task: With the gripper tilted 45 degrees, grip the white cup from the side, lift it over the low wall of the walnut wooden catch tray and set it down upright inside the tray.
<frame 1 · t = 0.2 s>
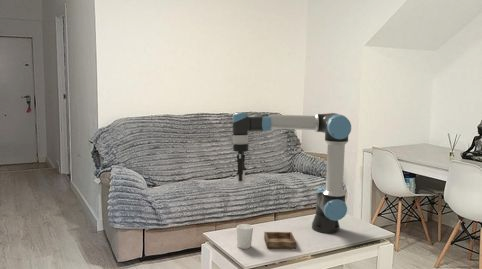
hand: (241, 185, 221), 27 cm above the table, tool pointing down, fingers open, 13 cm apart
catch tray: (279, 243, 217), on the table
white cup: (244, 246, 212), on the table
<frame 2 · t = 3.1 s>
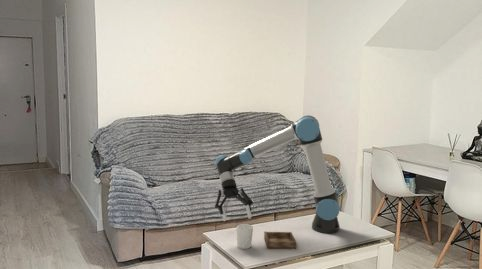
hand: (237, 218, 217), 12 cm above the table, tool tilted 45°, fingers open, 13 cm apart
nothing on the table moved.
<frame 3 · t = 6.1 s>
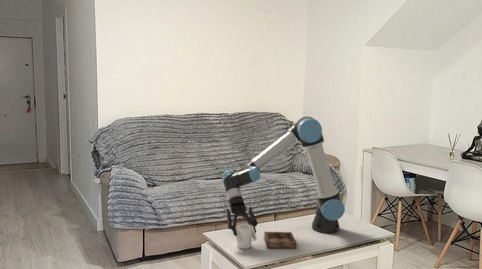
hand: (247, 240, 209), 4 cm above the table, tool tilted 45°, fingers closed on white cup, 8 cm apart
white cup: (244, 246, 212), on the table, touching gripper
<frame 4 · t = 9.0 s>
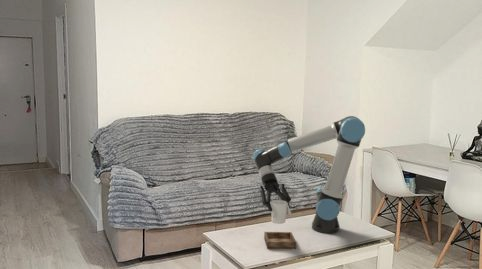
hand: (282, 215, 212), 15 cm above the table, tool tilted 45°, fingers closed on white cup, 8 cm apart
white cup: (278, 222, 216), point 11 cm above the table, touching gripper
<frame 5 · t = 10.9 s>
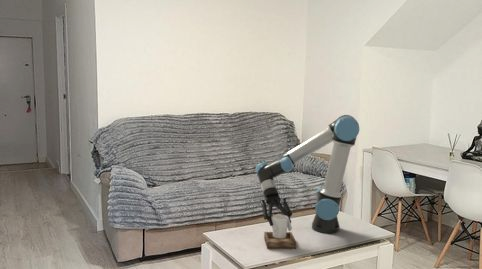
hand: (283, 230, 213), 8 cm above the table, tool tilted 45°, fingers closed on white cup, 8 cm apart
white cup: (279, 236, 217), point 4 cm above the table, touching gripper
when the fingers open (7 cm above the table, at t = 12.1 s): white cup drops 1 cm, resting on catch tray.
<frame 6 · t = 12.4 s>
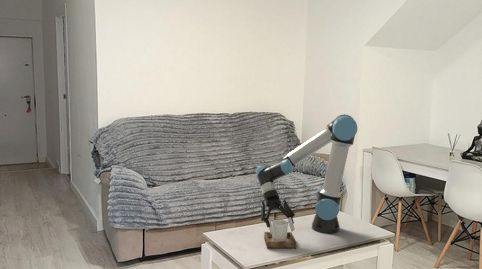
hand: (282, 231, 214), 7 cm above the table, tool tilted 45°, fingers open, 11 cm apart
white cup: (279, 242, 217), point 1 cm above the table, touching catch tray
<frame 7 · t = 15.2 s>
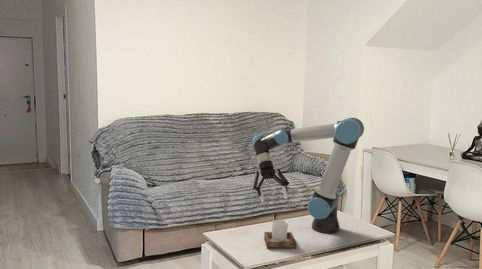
hand: (275, 200, 226), 19 cm above the table, tool tilted 35°, fingers open, 13 cm apart
nothing on the table moved.
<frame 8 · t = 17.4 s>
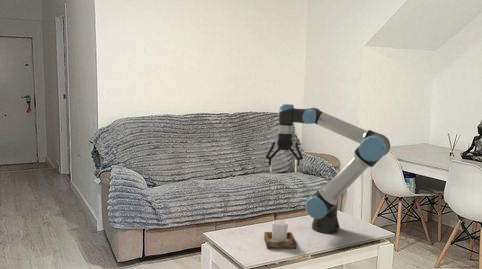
hand: (283, 171, 236), 32 cm above the table, tool pointing down, fingers open, 13 cm apart
nothing on the table moved.
at the end: white cup 0.3 cm off-centre on the catch tray, point 0.8 cm above the catch tray's base; white cup tilted 0°; the gripper is holding nothing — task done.
